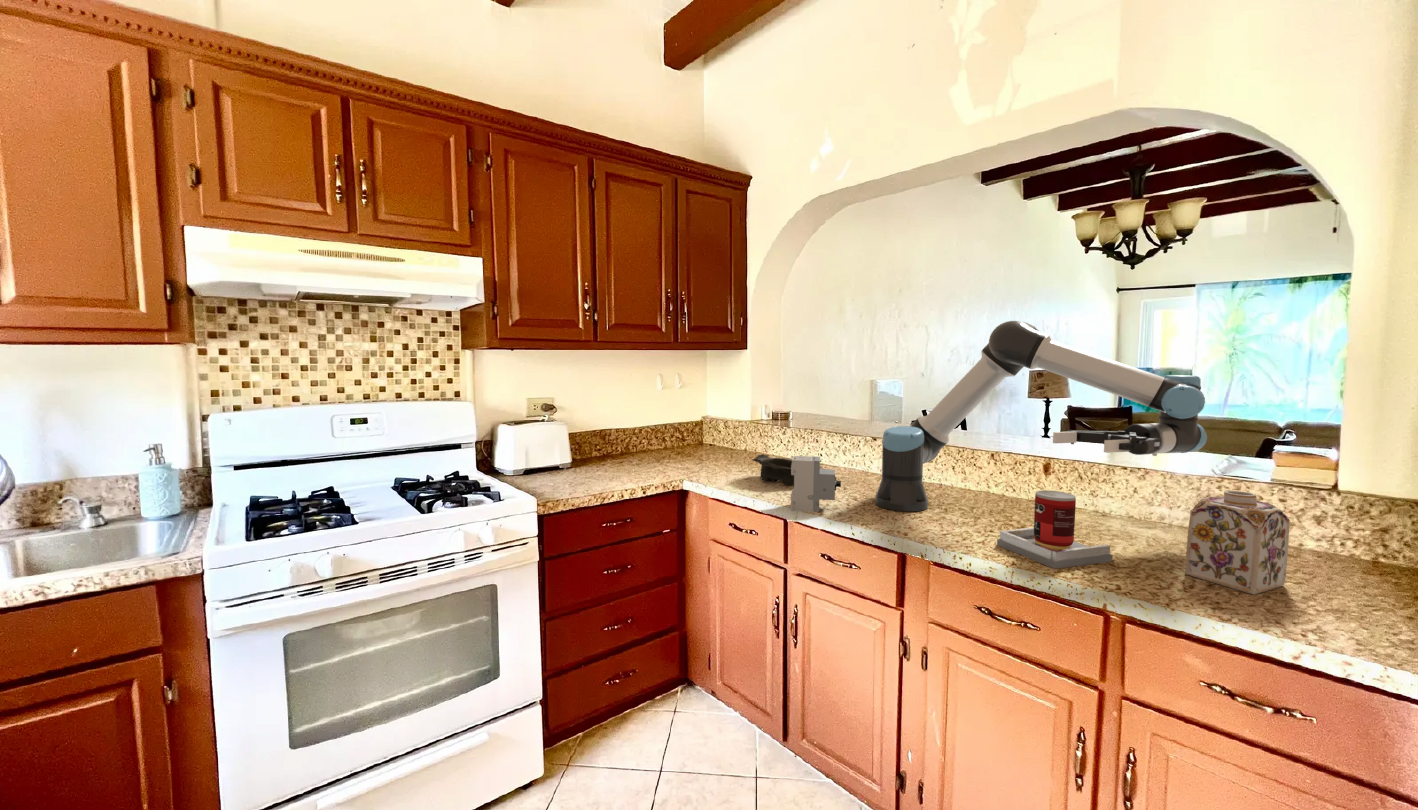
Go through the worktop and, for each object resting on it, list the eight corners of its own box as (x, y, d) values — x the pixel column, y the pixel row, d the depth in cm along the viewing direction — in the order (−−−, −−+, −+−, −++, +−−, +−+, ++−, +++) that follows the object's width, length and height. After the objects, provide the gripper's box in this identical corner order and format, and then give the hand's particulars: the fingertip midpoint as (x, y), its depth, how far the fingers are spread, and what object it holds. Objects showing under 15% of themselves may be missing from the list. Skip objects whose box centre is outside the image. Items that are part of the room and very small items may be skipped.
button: (1051, 545, 134) (1051, 535, 134) (1077, 555, 128) (1078, 544, 128) (1027, 548, 133) (1027, 538, 132) (1053, 558, 126) (1053, 547, 126)
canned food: (1038, 533, 135) (1040, 488, 135) (1077, 541, 130) (1080, 494, 129) (1028, 541, 130) (1030, 494, 129) (1068, 549, 124) (1071, 500, 124)
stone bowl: (739, 481, 204) (740, 456, 204) (777, 476, 223) (778, 452, 223) (799, 491, 188) (800, 463, 188) (834, 484, 207) (835, 458, 207)
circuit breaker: (840, 513, 164) (841, 461, 162) (790, 510, 166) (791, 460, 165) (839, 506, 171) (840, 457, 170) (792, 504, 174) (792, 455, 172)
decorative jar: (1254, 596, 107) (1262, 502, 105) (1182, 574, 117) (1188, 489, 116) (1287, 586, 111) (1295, 496, 110) (1215, 566, 122) (1221, 483, 120)
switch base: (1050, 539, 140) (1050, 525, 140) (1112, 561, 125) (1113, 545, 124) (996, 545, 136) (997, 530, 135) (1054, 568, 120) (1055, 552, 120)
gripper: (1201, 463, 128) (1129, 467, 122) (1099, 446, 152) (1034, 449, 146) (1204, 430, 127) (1131, 433, 122) (1101, 418, 151) (1036, 420, 146)
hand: (1078, 441), depth 134 cm, fingers open, 13 cm apart
